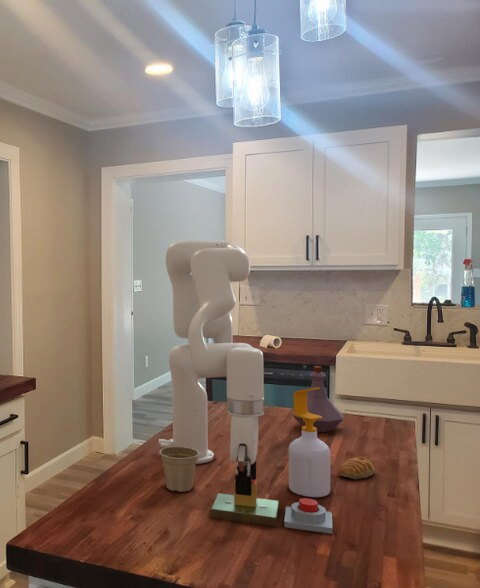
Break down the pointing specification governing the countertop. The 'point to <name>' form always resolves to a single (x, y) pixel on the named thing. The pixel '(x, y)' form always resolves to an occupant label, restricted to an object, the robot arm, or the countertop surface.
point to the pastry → (357, 468)
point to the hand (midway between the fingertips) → (246, 486)
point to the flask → (321, 405)
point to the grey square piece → (308, 519)
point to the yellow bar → (247, 497)
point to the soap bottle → (308, 454)
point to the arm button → (308, 505)
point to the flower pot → (179, 467)
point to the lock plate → (245, 511)
